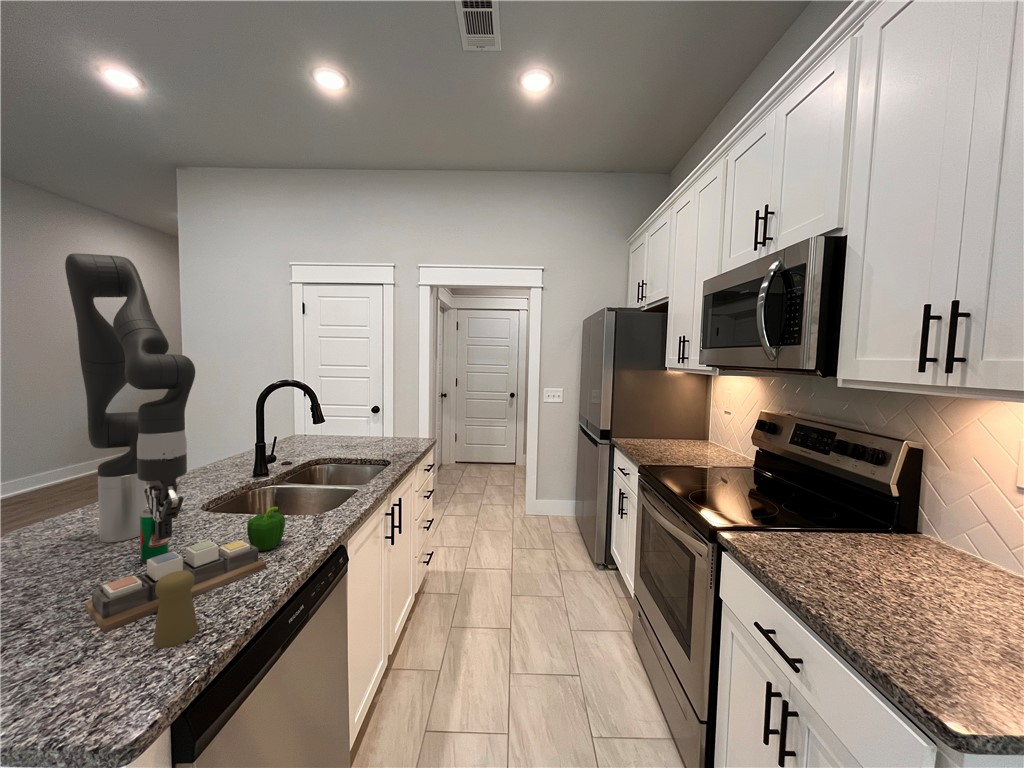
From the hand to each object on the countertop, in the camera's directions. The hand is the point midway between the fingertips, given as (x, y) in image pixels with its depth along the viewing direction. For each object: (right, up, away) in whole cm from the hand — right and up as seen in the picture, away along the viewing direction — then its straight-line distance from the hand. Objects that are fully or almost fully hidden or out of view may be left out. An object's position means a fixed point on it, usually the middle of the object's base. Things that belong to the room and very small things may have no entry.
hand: (163, 537), depth 81 cm
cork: (+12, -13, -11) cm, 21 cm away
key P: (+6, -9, +11) cm, 16 cm away
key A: (+3, -7, +6) cm, 10 cm away
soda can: (-15, -11, +15) cm, 24 cm away
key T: (0, -7, 0) cm, 7 cm away
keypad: (+1, -12, +3) cm, 12 cm away
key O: (-4, -10, -5) cm, 12 cm away
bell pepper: (+7, -11, +22) cm, 26 cm away
